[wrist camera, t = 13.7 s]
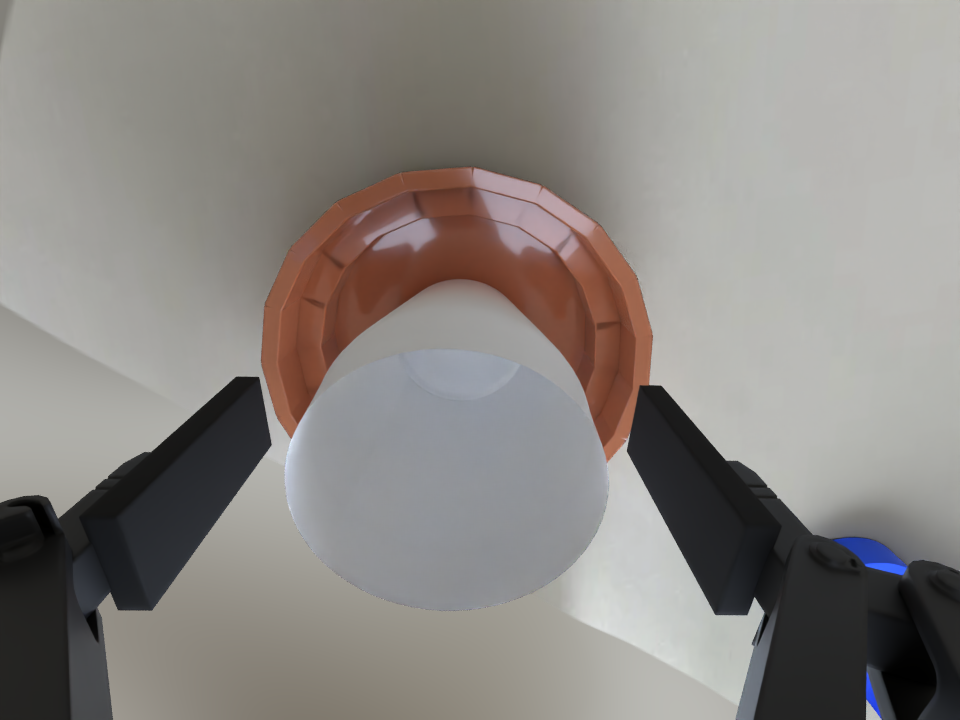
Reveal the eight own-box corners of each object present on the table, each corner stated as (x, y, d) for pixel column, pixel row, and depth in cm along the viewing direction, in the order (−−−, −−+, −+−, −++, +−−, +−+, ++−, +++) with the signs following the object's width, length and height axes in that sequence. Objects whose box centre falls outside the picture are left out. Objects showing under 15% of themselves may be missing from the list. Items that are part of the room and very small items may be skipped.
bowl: (257, 383, 25) (206, 432, 20) (395, 91, 19) (370, 65, 15) (506, 506, 28) (512, 572, 23) (682, 287, 23) (735, 317, 18)
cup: (580, 362, 24) (672, 530, 13) (442, 444, 26) (416, 653, 14) (484, 214, 21) (494, 263, 10) (336, 320, 23) (203, 462, 12)
